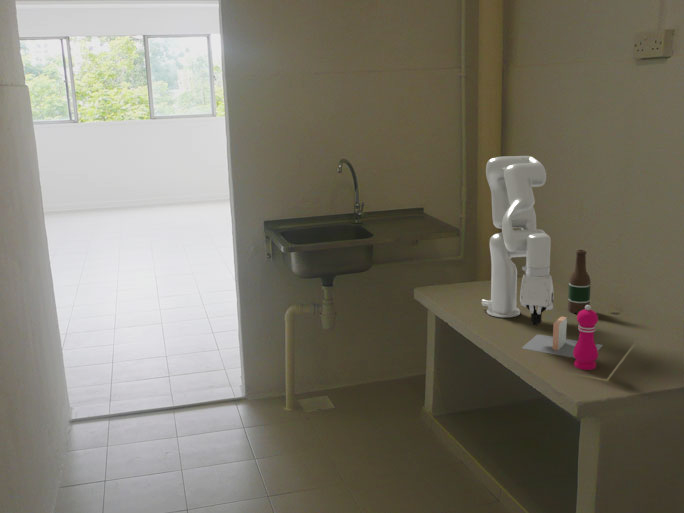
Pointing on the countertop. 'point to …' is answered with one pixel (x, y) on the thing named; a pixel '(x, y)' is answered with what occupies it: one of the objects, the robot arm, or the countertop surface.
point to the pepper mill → (586, 340)
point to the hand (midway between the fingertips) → (536, 324)
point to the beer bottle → (579, 285)
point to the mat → (546, 346)
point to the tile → (559, 333)
